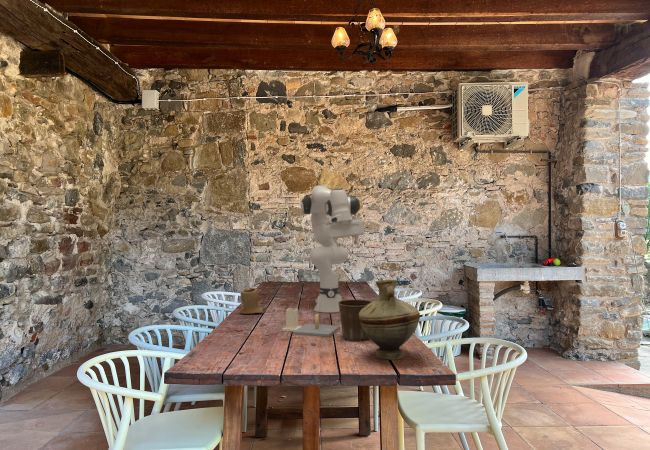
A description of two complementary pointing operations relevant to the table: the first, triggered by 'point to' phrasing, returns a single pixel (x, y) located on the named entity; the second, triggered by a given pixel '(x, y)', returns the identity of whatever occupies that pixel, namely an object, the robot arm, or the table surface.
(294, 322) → the collar
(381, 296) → the brown ceramic vase
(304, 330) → the post plate
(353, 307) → the plant pot
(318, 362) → the table surface
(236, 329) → the table surface
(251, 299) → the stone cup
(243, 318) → the table surface
